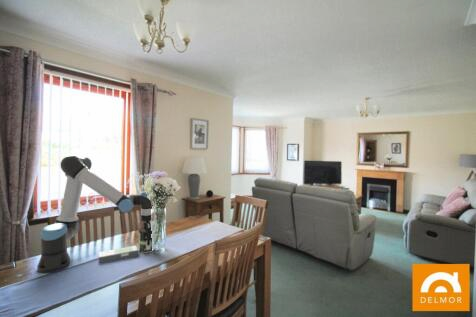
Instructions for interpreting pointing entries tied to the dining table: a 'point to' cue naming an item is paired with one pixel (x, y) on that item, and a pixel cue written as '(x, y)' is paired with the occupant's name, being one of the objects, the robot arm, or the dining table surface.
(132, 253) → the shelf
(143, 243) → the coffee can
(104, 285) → the dining table surface
